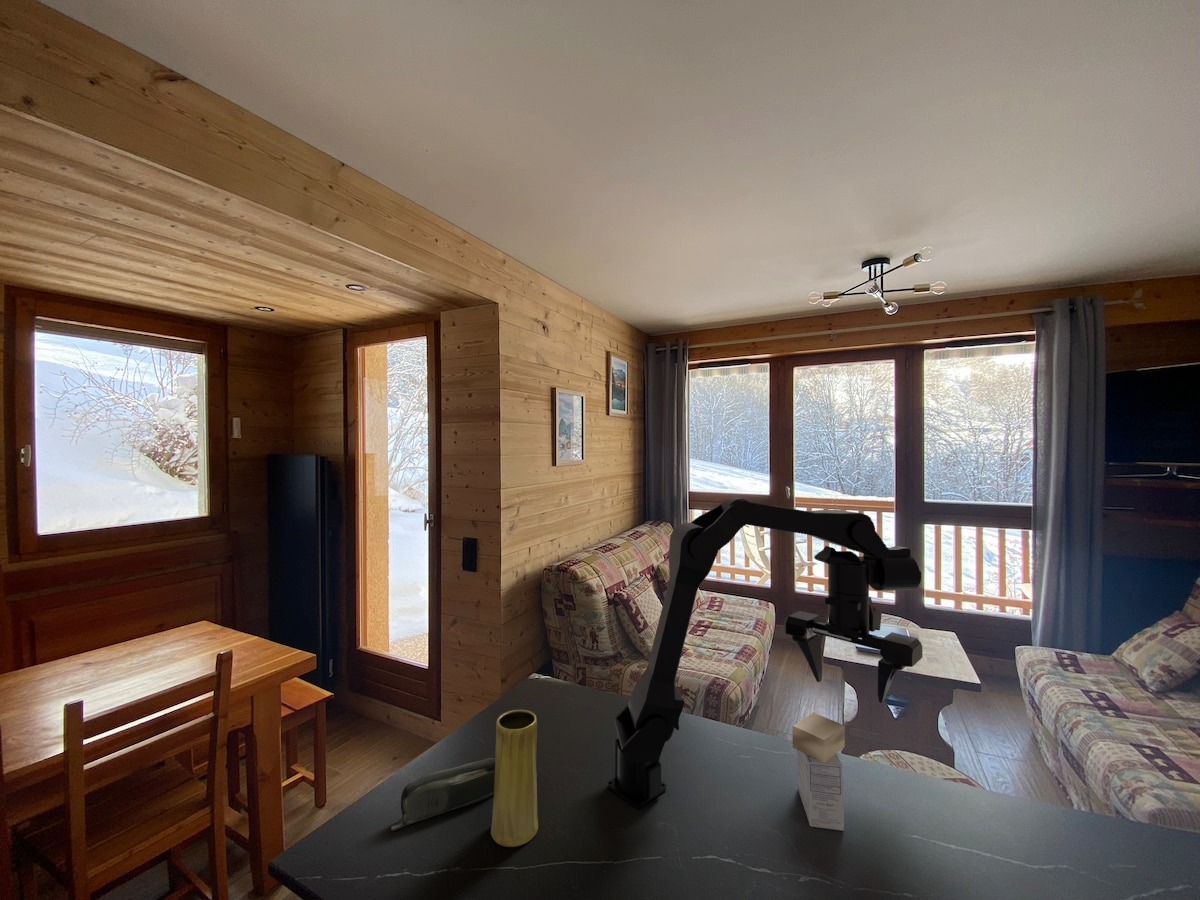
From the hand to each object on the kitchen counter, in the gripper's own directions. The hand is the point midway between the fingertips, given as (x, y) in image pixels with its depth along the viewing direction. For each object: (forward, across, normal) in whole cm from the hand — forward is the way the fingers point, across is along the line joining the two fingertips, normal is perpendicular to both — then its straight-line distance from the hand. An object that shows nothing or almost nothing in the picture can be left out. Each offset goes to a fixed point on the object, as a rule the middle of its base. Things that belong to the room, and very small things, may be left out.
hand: (848, 691), depth 75 cm
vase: (+13, +25, +45) cm, 53 cm away
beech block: (+4, 0, +11) cm, 12 cm away
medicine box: (+13, 0, +11) cm, 17 cm away
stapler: (+13, +35, +50) cm, 62 cm away
